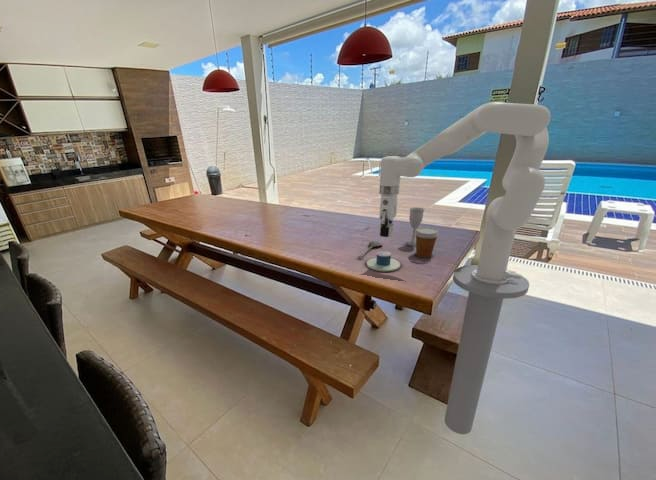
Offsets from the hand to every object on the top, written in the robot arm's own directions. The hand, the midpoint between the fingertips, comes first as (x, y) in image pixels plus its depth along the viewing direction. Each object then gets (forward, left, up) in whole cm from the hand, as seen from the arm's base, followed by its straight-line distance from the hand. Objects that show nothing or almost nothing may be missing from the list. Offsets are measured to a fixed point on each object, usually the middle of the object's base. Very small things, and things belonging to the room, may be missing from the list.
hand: (385, 233), depth 127 cm
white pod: (0, 0, 0) cm, 0 cm away
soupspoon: (+10, -13, -14) cm, 22 cm away
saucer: (0, 0, -14) cm, 14 cm away
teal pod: (0, 0, -13) cm, 13 cm away
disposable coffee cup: (-14, -17, -14) cm, 26 cm away
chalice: (-7, -30, -14) cm, 34 cm away
